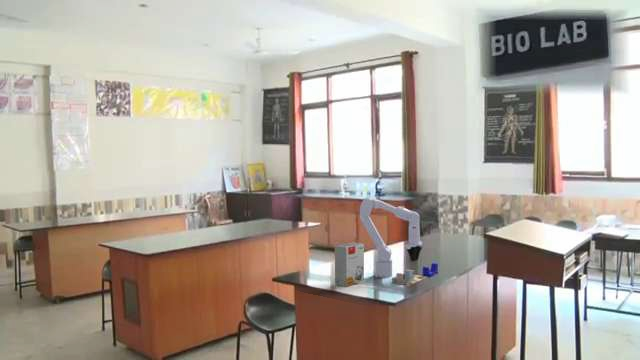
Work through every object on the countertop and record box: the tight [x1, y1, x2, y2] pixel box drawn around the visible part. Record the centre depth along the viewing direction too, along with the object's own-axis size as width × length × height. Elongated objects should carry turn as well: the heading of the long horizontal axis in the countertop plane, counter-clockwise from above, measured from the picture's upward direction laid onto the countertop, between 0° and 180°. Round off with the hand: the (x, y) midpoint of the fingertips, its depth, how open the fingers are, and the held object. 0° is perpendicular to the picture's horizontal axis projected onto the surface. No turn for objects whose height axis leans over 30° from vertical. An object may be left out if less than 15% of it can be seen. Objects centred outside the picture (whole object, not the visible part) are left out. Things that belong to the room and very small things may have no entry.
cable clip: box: [422, 262, 439, 278], centre depth 268 cm, size 12×4×6 cm, turn 142°
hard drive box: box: [334, 242, 365, 288], centre depth 256 cm, size 16×8×20 cm, turn 138°
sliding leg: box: [404, 268, 414, 282], centre depth 256 cm, size 3×5×5 cm, turn 51°
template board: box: [390, 269, 428, 287], centre depth 257 cm, size 22×10×6 cm, turn 141°
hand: (414, 260), depth 264 cm, fingers open, 3 cm apart
